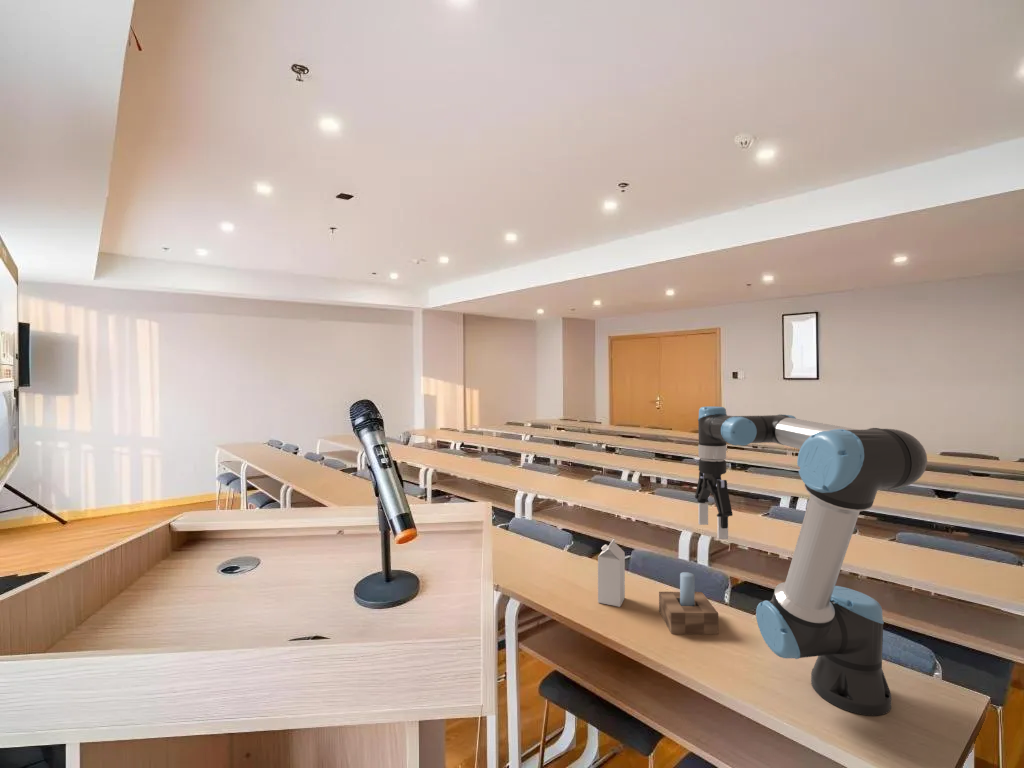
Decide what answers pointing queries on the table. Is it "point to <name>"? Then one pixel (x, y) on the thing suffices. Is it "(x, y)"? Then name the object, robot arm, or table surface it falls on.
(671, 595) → the socket block
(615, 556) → the milk carton
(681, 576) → the peg
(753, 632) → the table surface
